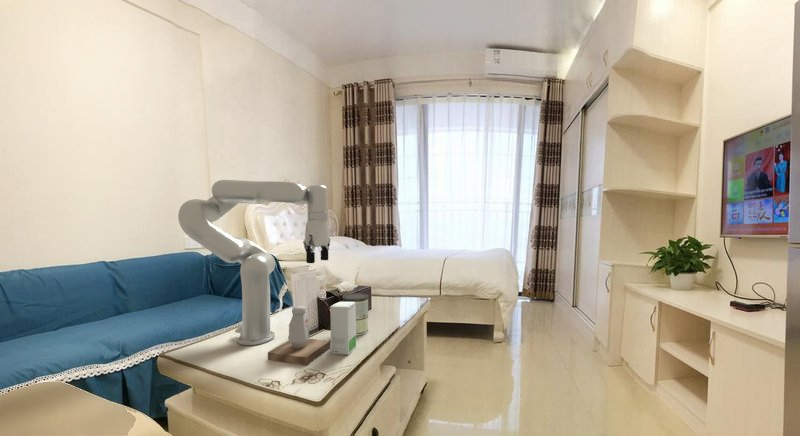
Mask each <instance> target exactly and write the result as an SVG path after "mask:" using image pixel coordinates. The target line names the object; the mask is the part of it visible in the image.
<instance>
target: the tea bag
mask: <svg viewBox="0 0 800 436" xmlns="http://www.w3.org/2000/svg"><path fill="white" fill-rule="evenodd" d="M304 318H305V323H306V329H307V335H308V337H310V328H309V327H310V325H309V324H310V321H309V317H308V314H307V313H306V312H305V313H304ZM293 319H294V315H293V314H292V317H291V319H290V321H289V324H288V341H289V340H290V335H291V330H292V324H293Z"/></svg>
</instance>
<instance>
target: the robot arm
mask: <svg viewBox="0 0 800 436" xmlns="http://www.w3.org/2000/svg"><path fill="white" fill-rule="evenodd" d="M211 194H212V196H211V197H210V198H208V199H207V200H206V199H205V200H204V199H197V198H196V199H195V198H194V199H193V198H192V199H189V200H187V201H185V202H184V203H182V204H181V206H180V207H179V210H178V212H177V213H178V216H177V218H178V223H179V225H180V228H181V229H182V231H183V232H184V233H185V234H186V235H187V237H189V238H190V239H192V240H194V241H195V242H196V243H197V244H199V245H201V246H202V247H203V248H205V249H206V250H207V251H209V252H210V253H212V254H214V255H216V256H217V257H218V258H219V259H221V260H223V261H224V262H226V263H228V264H235V263H238V264H241V265H240V271H239V272H240V281H241V292H242V293H241V300H242V304H241V306H242V307H241V310H242V311H241V313H242V314H241V316H242V318H241V319H242V321H241V322H242V325H238V327H237V328H235V330H234V331H235V333H236V334H239V336H238V338H237V344H239V345H243V346H255V345H261V344H266V343H268V342H270V341H272V340H274V338H275V335H276V334H275V332H273V331H271V284H270V274H271V273H272V272H273V271H275V267H276V260H275V257H274V256H273V255H272V254H271V253H269V252H268V251H267V250H265V249H264V248H262V247H260V246H259V245H257V244H256V243H254V242H253V240H252V241H251V239H250V240H249V239H248V238H246V237H242V236H233V235H231V234H230V233H228V232H227V231H225V230H224V229H222V228H220V227H219V226H217V225H215V224H214V222H217V220H219V219H221V218H222V217H224V216H225V215H226V214H227V213H229V212H230V211H231V210H232V209H233V208H235V207H236V206H237V205H238V204H254V205H257V204H258V205H260V204H264V203H285V204H286V203H287V204H288V203H289V204H293V205H297V206H298V205H299V206H300V205H307V220H306V224H305V230H304V232H305V233H304V239H303V241H302V243H303V246H304V251H305V254H306V260H305V261H306V262H305V263H306V264H315V262H316V260H315V259H316V253H315V250H316V248H317V247H320V261H329V250H330V245H331V238H330V237H329V225H328V188H327V186H325V185H322V184H320V185H319V184H312V185H309V186H303V185H302V184H300V183H299V182H293V181H292V182H291V181H267V180H266V181H262V180H261V181H259V180H240V179H239V180H238V179H219V180H217V181H216V182H214V183H213V184H212V187H211Z"/></svg>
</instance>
